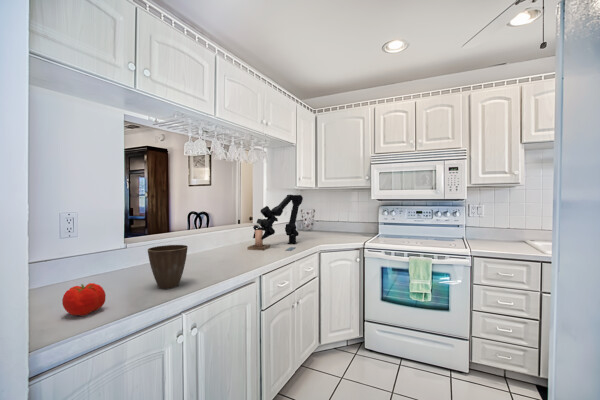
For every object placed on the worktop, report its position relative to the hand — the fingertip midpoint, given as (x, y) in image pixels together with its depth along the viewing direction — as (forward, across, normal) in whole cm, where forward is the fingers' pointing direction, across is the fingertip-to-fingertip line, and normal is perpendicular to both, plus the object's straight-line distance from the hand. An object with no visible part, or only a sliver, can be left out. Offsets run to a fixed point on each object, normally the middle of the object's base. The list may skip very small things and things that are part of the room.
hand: (257, 238), depth 194 cm
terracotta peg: (+4, 0, +6) cm, 7 cm away
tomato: (+79, +45, -68) cm, 113 cm away
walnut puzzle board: (+4, 0, +6) cm, 8 cm away
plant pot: (+59, +37, -48) cm, 84 cm away
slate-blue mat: (-5, +13, +16) cm, 21 cm away
